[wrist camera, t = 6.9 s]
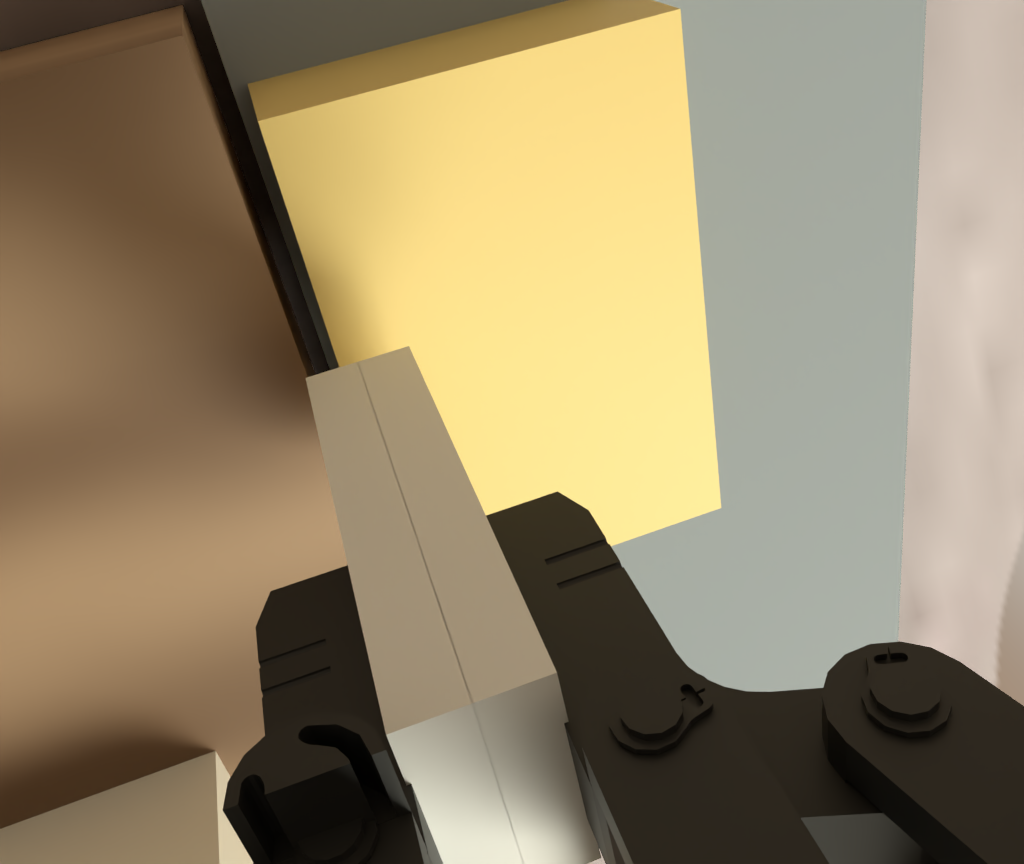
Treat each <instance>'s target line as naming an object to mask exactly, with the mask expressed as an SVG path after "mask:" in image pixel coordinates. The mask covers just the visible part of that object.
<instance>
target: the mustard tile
mask: <svg viewBox="0 0 1024 864" xmlns="http://www.w3.org/2000/svg"><path fill="white" fill-rule="evenodd" d="M248 88H249V91H250V95H251V99H252V102H253V106H254V109H255V113H256V116H257V120H258V123H259V126H260V129H261V132H262V135H263V138H264V141H265V144H266V147H267V150H268V153H269V156H270V159H271V163H272V166H273V169H274V172H275V175H276V178H277V181H278V184H279V187H280V190H281V193H282V196H283V199H284V202H285V205H286V208H287V211H288V214H289V217H290V220H291V223H292V226H293V229H294V232H295V235H296V238H297V241H298V244H299V247H300V250H301V253H302V256H303V259H304V262H305V265H306V268H307V271H308V274H309V277H310V280H311V283H312V286H313V289H314V292H315V295H316V298H317V301H318V304H319V307H320V310H321V313H322V316H323V319H324V322H325V325H326V329H327V332H328V335H329V338H330V341H331V344H332V347H333V350H334V353H335V356H336V359H337V362H338V365H339V367H342V366H346V365H349V364H352V363H355V362H359V361H362V360H365V359H368V358H372V357H375V356H378V355H381V354H385V353H388V352H391V351H394V350H398V349H401V348H404V347H407V346H409V347H410V349H411V352H412V354H413V356H414V358H415V360H416V363H417V365H418V367H419V369H420V371H421V374H422V376H423V378H424V380H425V382H426V385H427V387H428V389H429V391H430V394H431V396H432V398H433V400H434V402H435V405H436V407H437V409H438V411H439V413H440V416H441V418H442V420H443V422H444V424H445V427H446V429H447V431H448V433H449V435H450V438H451V440H452V442H453V444H454V446H455V449H456V451H457V453H458V455H459V458H460V460H461V462H462V464H463V466H464V469H465V471H466V473H467V475H468V477H469V480H470V482H471V484H472V486H473V488H474V491H475V493H476V495H477V497H478V499H479V502H480V504H481V506H482V508H483V510H484V513H485V515H489V514H492V513H495V512H498V511H501V510H504V509H507V508H510V507H513V506H516V505H519V504H522V503H525V502H528V501H531V500H534V499H537V498H540V497H542V496H545V495H548V494H551V493H554V492H557V491H558V492H559V493H561V494H563V495H564V496H566V497H568V498H569V499H571V500H573V501H574V502H576V503H578V504H579V505H581V506H583V507H584V508H586V509H588V510H589V511H590V513H591V515H592V516H593V518H594V520H595V521H596V523H597V524H598V526H599V528H600V529H601V531H602V533H603V534H604V536H605V537H606V540H607V543H608V544H610V546H613V545H616V544H619V543H622V542H625V541H628V540H630V539H633V538H636V537H639V536H642V535H645V534H648V533H651V532H654V531H656V530H659V529H662V528H665V527H668V526H671V525H674V524H677V523H679V522H682V521H685V520H688V519H691V518H694V517H697V516H700V515H702V514H705V513H708V512H711V511H714V510H717V509H720V508H721V498H720V486H719V474H718V461H717V449H716V437H715V425H714V413H713V400H712V388H711V376H710V364H709V351H708V339H707V327H706V315H705V303H704V290H703V278H702V266H701V254H700V242H699V229H698V217H697V205H696V193H695V180H694V168H693V156H692V144H691V132H690V119H689V107H688V95H687V83H686V70H685V58H684V46H683V34H682V22H681V9H680V8H676V7H673V6H670V5H667V4H663V3H660V2H657V1H654V0H568V1H564V2H560V3H556V4H552V5H548V6H545V7H541V8H537V9H533V10H529V11H525V12H521V13H518V14H514V15H510V16H506V17H502V18H498V19H495V20H491V21H487V22H483V23H479V24H475V25H472V26H468V27H464V28H460V29H456V30H452V31H449V32H445V33H441V34H437V35H433V36H429V37H426V38H422V39H418V40H414V41H410V42H406V43H402V44H399V45H395V46H391V47H387V48H383V49H379V50H376V51H372V52H368V53H364V54H360V55H356V56H353V57H349V58H345V59H341V60H337V61H333V62H330V63H326V64H322V65H318V66H314V67H310V68H307V69H303V70H299V71H295V72H291V73H287V74H283V75H280V76H276V77H272V78H268V79H264V80H260V81H257V82H253V83H249V84H248Z"/></svg>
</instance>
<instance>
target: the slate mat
mask: <svg viewBox="0 0 1024 864" xmlns="http://www.w3.org/2000/svg"><path fill="white" fill-rule="evenodd" d="M564 1H568V0H201V2H202V5H203V8H204V11H205V13H206V16H207V19H208V22H209V25H210V28H211V31H212V33H213V36H214V39H215V42H216V45H217V48H218V51H219V53H220V56H221V59H222V62H223V65H224V68H225V71H226V74H227V76H228V79H229V82H230V85H231V88H232V91H233V94H234V96H235V99H236V102H237V105H238V108H239V111H240V114H241V116H242V119H243V122H244V125H245V128H246V131H247V134H248V137H249V139H250V142H251V145H252V148H253V151H254V154H255V157H256V159H257V162H258V165H259V168H260V171H261V174H262V177H263V179H264V182H265V185H266V188H267V191H268V194H269V197H270V200H271V202H272V205H273V208H274V211H275V214H276V217H277V220H278V222H279V225H280V228H281V231H282V234H283V237H284V240H285V243H286V245H287V248H288V251H289V254H290V257H291V260H292V263H293V265H294V268H295V271H296V274H297V277H298V280H299V283H300V285H301V288H302V291H303V294H304V297H305V300H306V303H307V306H308V308H309V311H310V314H311V317H312V320H313V323H314V326H315V328H316V331H317V334H318V337H319V340H320V343H321V346H322V348H323V351H324V354H325V357H326V360H327V363H328V366H329V369H330V370H333V369H336V368H339V365H338V362H337V359H336V356H335V353H334V350H333V347H332V344H331V341H330V338H329V335H328V332H327V329H326V325H325V322H324V319H323V316H322V313H321V310H320V307H319V304H318V301H317V298H316V295H315V292H314V289H313V286H312V283H311V280H310V277H309V274H308V271H307V268H306V265H305V262H304V259H303V256H302V253H301V250H300V247H299V244H298V241H297V238H296V235H295V232H294V229H293V226H292V223H291V220H290V217H289V214H288V211H287V208H286V205H285V202H284V199H283V196H282V193H281V190H280V187H279V184H278V181H277V178H276V175H275V172H274V169H273V166H272V163H271V159H270V156H269V153H268V150H267V147H266V144H265V141H264V138H263V135H262V132H261V129H260V126H259V123H258V120H257V116H256V113H255V109H254V106H253V102H252V99H251V95H250V91H249V88H248V84H249V83H253V82H257V81H260V80H264V79H268V78H272V77H276V76H280V75H283V74H287V73H291V72H295V71H299V70H303V69H307V68H310V67H314V66H318V65H322V64H326V63H330V62H333V61H337V60H341V59H345V58H349V57H353V56H356V55H360V54H364V53H368V52H372V51H376V50H379V49H383V48H387V47H391V46H395V45H399V44H402V43H406V42H410V41H414V40H418V39H422V38H426V37H429V36H433V35H437V34H441V33H445V32H449V31H452V30H456V29H460V28H464V27H468V26H472V25H475V24H479V23H483V22H487V21H491V20H495V19H498V18H502V17H506V16H510V15H514V14H518V13H521V12H525V11H529V10H533V9H537V8H541V7H545V6H548V5H552V4H556V3H560V2H564ZM654 1H657V2H660V3H663V4H667V5H670V6H673V7H676V8H680V9H681V22H682V34H683V46H684V58H685V70H686V83H687V95H688V107H689V119H690V132H691V144H692V156H693V168H694V180H695V193H696V205H697V217H698V229H699V242H700V254H701V266H702V278H703V290H704V303H705V315H706V327H707V339H708V351H709V364H710V376H711V388H712V400H713V413H714V425H715V437H716V449H717V461H718V474H719V486H720V498H721V508H720V509H717V510H714V511H711V512H708V513H705V514H702V515H700V516H697V517H694V518H691V519H688V520H685V521H682V522H679V523H677V524H674V525H671V526H668V527H665V528H662V529H659V530H656V531H654V532H651V533H648V534H645V535H642V536H639V537H636V538H633V539H630V540H628V541H625V542H622V543H619V544H616V545H613V546H611V547H612V549H613V550H614V552H615V554H616V555H617V557H618V559H619V560H620V563H621V566H622V568H623V567H624V568H625V570H626V572H627V573H628V575H629V576H630V578H631V580H632V581H633V583H634V585H635V586H636V588H637V589H638V591H639V593H640V594H641V596H642V598H643V599H644V601H645V602H646V604H647V606H648V607H649V609H650V611H651V612H652V614H653V615H654V617H655V619H656V620H657V622H658V624H659V625H660V627H661V628H662V630H663V632H664V633H665V635H666V637H667V638H668V640H669V641H670V643H671V645H672V646H673V648H674V650H675V651H676V653H677V654H678V655H679V656H680V658H681V659H682V660H683V661H684V662H685V664H686V665H687V666H688V667H689V668H691V669H692V670H693V671H695V672H696V673H698V674H700V675H702V676H704V677H705V678H706V679H707V680H710V681H712V682H714V683H717V684H719V685H721V686H724V687H728V688H733V689H738V690H742V691H754V692H774V691H787V690H800V689H813V688H823V687H824V683H825V680H826V676H827V672H828V671H829V670H830V669H831V668H832V667H833V666H834V665H835V664H836V663H837V662H838V661H839V660H840V659H841V658H842V657H843V656H844V655H845V654H847V653H849V652H852V651H854V650H857V649H859V648H861V647H864V646H866V645H869V644H876V643H888V642H898V630H899V607H900V585H901V562H902V540H903V517H904V494H905V472H906V449H907V426H908V404H909V381H910V359H911V336H912V313H913V291H914V268H915V246H916V223H917V200H918V178H919V155H920V132H921V110H922V87H923V65H924V42H925V19H926V0H654ZM598 847H599V846H598Z"/></svg>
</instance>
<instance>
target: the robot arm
mask: <svg viewBox="0 0 1024 864" xmlns="http://www.w3.org/2000/svg"><path fill="white" fill-rule="evenodd" d="M306 383H307V387H308V391H309V396H310V400H311V405H312V409H313V414H314V418H315V422H316V427H317V431H318V436H319V440H320V445H321V449H322V453H323V458H324V462H325V467H326V471H327V476H328V480H329V484H330V489H331V493H332V498H333V502H334V507H335V511H336V515H337V520H338V524H339V529H340V533H341V538H342V542H343V546H344V551H345V555H346V560H347V564H348V565H347V566H344V567H341V568H338V569H335V570H332V571H329V572H326V573H323V574H320V575H317V576H314V577H311V578H308V579H305V580H302V581H299V582H296V583H293V584H290V585H287V586H284V587H282V588H279V589H276V590H273V591H270V594H269V596H268V599H267V601H266V603H265V606H264V608H263V610H262V613H261V615H260V618H259V620H258V622H257V625H256V638H257V650H258V661H259V664H260V668H259V673H260V684H261V691H262V695H263V697H262V707H263V718H264V730H265V736H264V737H263V738H262V739H261V740H260V741H259V742H258V743H257V744H255V745H254V746H253V747H252V748H251V749H250V750H249V751H248V752H247V753H246V754H245V755H244V756H243V758H242V759H241V761H240V763H239V764H238V766H237V768H236V769H235V771H234V772H233V774H232V776H231V777H230V779H229V781H228V783H227V789H226V794H225V800H224V805H223V812H224V814H225V815H226V817H227V819H228V820H229V822H230V824H231V825H232V827H233V829H234V831H235V832H236V834H237V836H238V837H239V839H240V841H241V842H242V844H243V846H244V847H245V849H246V851H247V853H248V854H249V856H250V858H251V859H252V861H253V864H587V863H589V862H592V861H594V860H597V859H600V858H601V855H600V851H601V853H602V856H603V858H604V860H605V863H606V864H1024V706H1023V705H1021V704H1020V703H1018V702H1017V701H1015V700H1014V699H1012V698H1011V697H1010V696H1008V695H1007V694H1005V693H1004V692H1002V691H1001V690H1000V689H998V688H997V687H995V686H994V685H992V684H991V683H989V682H988V681H987V680H985V679H984V678H982V677H981V676H979V675H978V674H977V673H975V672H974V671H972V670H971V669H969V668H968V667H966V666H965V665H964V664H962V663H961V662H959V661H957V660H955V659H953V658H951V657H949V656H947V655H945V654H943V653H941V652H939V651H937V650H935V649H933V648H930V647H925V646H920V645H915V644H910V643H905V642H888V643H876V644H869V645H866V646H864V647H861V648H859V649H857V650H854V651H852V652H849V653H847V654H845V655H844V656H843V657H842V658H841V659H840V660H839V661H838V662H837V663H836V664H835V665H834V666H833V667H832V668H831V669H830V670H829V671H828V672H827V676H826V680H825V683H824V687H823V688H813V689H800V690H787V691H774V692H754V691H742V690H738V689H733V688H728V687H724V686H721V685H719V684H717V683H714V682H712V681H710V680H707V679H706V678H705V677H704V676H702V675H700V674H698V673H696V672H695V671H693V670H692V669H691V668H689V667H688V666H687V665H686V664H685V662H684V661H683V660H682V659H681V658H680V656H679V655H678V654H677V653H676V651H675V650H674V648H673V646H672V645H671V643H670V641H669V640H668V638H667V637H666V635H665V633H664V632H663V630H662V628H661V627H660V625H659V624H658V622H657V620H656V619H655V617H654V615H653V614H652V612H651V611H650V609H649V607H648V606H647V604H646V602H645V601H644V599H643V598H642V596H641V594H640V593H639V591H638V589H637V588H636V586H635V585H634V583H633V581H632V580H631V578H630V576H629V575H628V573H627V572H626V570H625V568H624V567H623V568H622V566H621V563H620V560H619V559H618V557H617V555H616V554H615V552H614V550H613V549H612V547H611V546H610V544H608V543H607V540H606V537H605V536H604V534H603V533H602V531H601V529H600V528H599V526H598V524H597V523H596V521H595V520H594V518H593V516H592V515H591V513H590V511H589V510H588V509H586V508H584V507H583V506H581V505H579V504H578V503H576V502H574V501H573V500H571V499H569V498H568V497H566V496H564V495H563V494H561V493H559V492H558V491H557V492H554V493H551V494H548V495H545V496H542V497H540V498H537V499H534V500H531V501H528V502H525V503H522V504H519V505H516V506H513V507H510V508H507V509H504V510H501V511H498V512H495V513H492V514H489V515H485V513H484V510H483V508H482V506H481V504H480V502H479V499H478V497H477V495H476V493H475V491H474V488H473V486H472V484H471V482H470V480H469V477H468V475H467V473H466V471H465V469H464V466H463V464H462V462H461V460H460V458H459V455H458V453H457V451H456V449H455V446H454V444H453V442H452V440H451V438H450V435H449V433H448V431H447V429H446V427H445V424H444V422H443V420H442V418H441V416H440V413H439V411H438V409H437V407H436V405H435V402H434V400H433V398H432V396H431V394H430V391H429V389H428V387H427V385H426V382H425V380H424V378H423V376H422V374H421V371H420V369H419V367H418V365H417V363H416V360H415V358H414V356H413V354H412V352H411V349H410V347H409V346H407V347H404V348H401V349H398V350H394V351H391V352H388V353H385V354H381V355H378V356H375V357H372V358H368V359H365V360H362V361H359V362H355V363H352V364H349V365H346V366H342V367H339V368H336V369H333V370H329V371H326V372H323V373H320V374H317V375H313V376H310V377H307V378H306ZM598 846H599V847H598ZM599 848H600V851H599Z"/></svg>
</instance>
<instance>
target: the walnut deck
mask: <svg viewBox="0 0 1024 864" xmlns="http://www.w3.org/2000/svg"><path fill="white" fill-rule="evenodd" d="M313 375H316V374H315V371H314V368H313V365H312V363H311V360H310V357H309V354H308V351H307V349H306V346H305V343H304V340H303V338H302V335H301V332H300V329H299V326H298V324H297V321H296V318H295V315H294V313H293V310H292V307H291V304H290V301H289V299H288V296H287V293H286V290H285V288H284V285H283V282H282V279H281V276H280V274H279V271H278V268H277V265H276V263H275V260H274V257H273V254H272V251H271V249H270V246H269V243H268V240H267V238H266V235H265V232H264V229H263V226H262V224H261V221H260V218H259V215H258V213H257V210H256V207H255V204H254V201H253V199H252V196H251V193H250V190H249V188H248V185H247V182H246V179H245V176H244V174H243V171H242V168H241V165H240V163H239V160H238V157H237V154H236V151H235V149H234V146H233V143H232V140H231V138H230V135H229V132H228V129H227V126H226V124H225V121H224V118H223V115H222V113H221V110H220V107H219V104H218V101H217V99H216V96H215V93H214V90H213V88H212V85H211V82H210V79H209V76H208V74H207V71H206V68H205V65H204V62H203V60H202V57H201V54H200V51H199V49H198V46H197V43H196V40H195V37H194V35H193V32H192V29H191V26H190V24H189V21H188V18H187V15H186V12H185V10H184V7H183V5H180V6H176V7H172V8H168V9H165V10H161V11H157V12H153V13H149V14H145V15H141V16H137V17H133V18H129V19H126V20H122V21H118V22H114V23H110V24H106V25H102V26H98V27H94V28H90V29H87V30H83V31H79V32H75V33H71V34H67V35H63V36H59V37H55V38H51V39H48V40H44V41H40V42H36V43H32V44H28V45H24V46H20V47H16V48H13V49H9V50H5V51H1V52H0V829H2V828H4V827H7V826H10V825H13V824H15V823H18V822H21V821H24V820H26V819H29V818H32V817H35V816H37V815H40V814H43V813H46V812H48V811H51V810H54V809H57V808H59V807H62V806H65V805H68V804H70V803H73V802H76V801H79V800H81V799H84V798H87V797H90V796H92V795H95V794H98V793H101V792H103V791H106V790H109V789H112V788H114V787H117V786H120V785H123V784H125V783H128V782H131V781H134V780H136V779H139V778H142V777H144V776H147V775H150V774H153V773H155V772H158V771H161V770H164V769H166V768H169V767H172V766H175V765H177V764H180V763H183V762H186V761H188V760H191V759H194V758H197V757H199V756H202V755H205V754H208V753H210V752H213V751H216V753H217V754H218V756H219V758H220V759H221V761H222V763H223V765H224V766H225V768H226V770H227V772H228V773H229V775H230V777H231V776H232V774H233V772H234V771H235V769H236V768H237V766H238V764H239V763H240V761H241V759H242V758H243V756H244V755H245V754H246V753H247V752H248V751H249V750H250V749H251V748H252V747H253V746H254V745H255V744H257V743H258V742H259V741H260V740H261V739H262V738H263V737H264V736H265V730H264V718H263V707H262V697H263V695H262V691H261V684H260V673H259V668H260V664H259V661H258V650H257V638H256V625H257V622H258V620H259V618H260V615H261V613H262V610H263V608H264V606H265V603H266V601H267V599H268V596H269V594H270V591H273V590H276V589H279V588H282V587H284V586H287V585H290V584H293V583H296V582H299V581H302V580H305V579H308V578H311V577H314V576H317V575H320V574H323V573H326V572H329V571H332V570H335V569H338V568H341V567H344V566H347V565H348V564H347V560H346V555H345V551H344V546H343V542H342V538H341V533H340V529H339V524H338V520H337V515H336V511H335V507H334V502H333V498H332V493H331V489H330V484H329V480H328V476H327V471H326V467H325V462H324V458H323V453H322V449H321V445H320V440H319V436H318V431H317V427H316V422H315V418H314V414H313V409H312V405H311V400H310V396H309V391H308V387H307V383H306V378H307V377H310V376H313Z"/></svg>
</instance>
